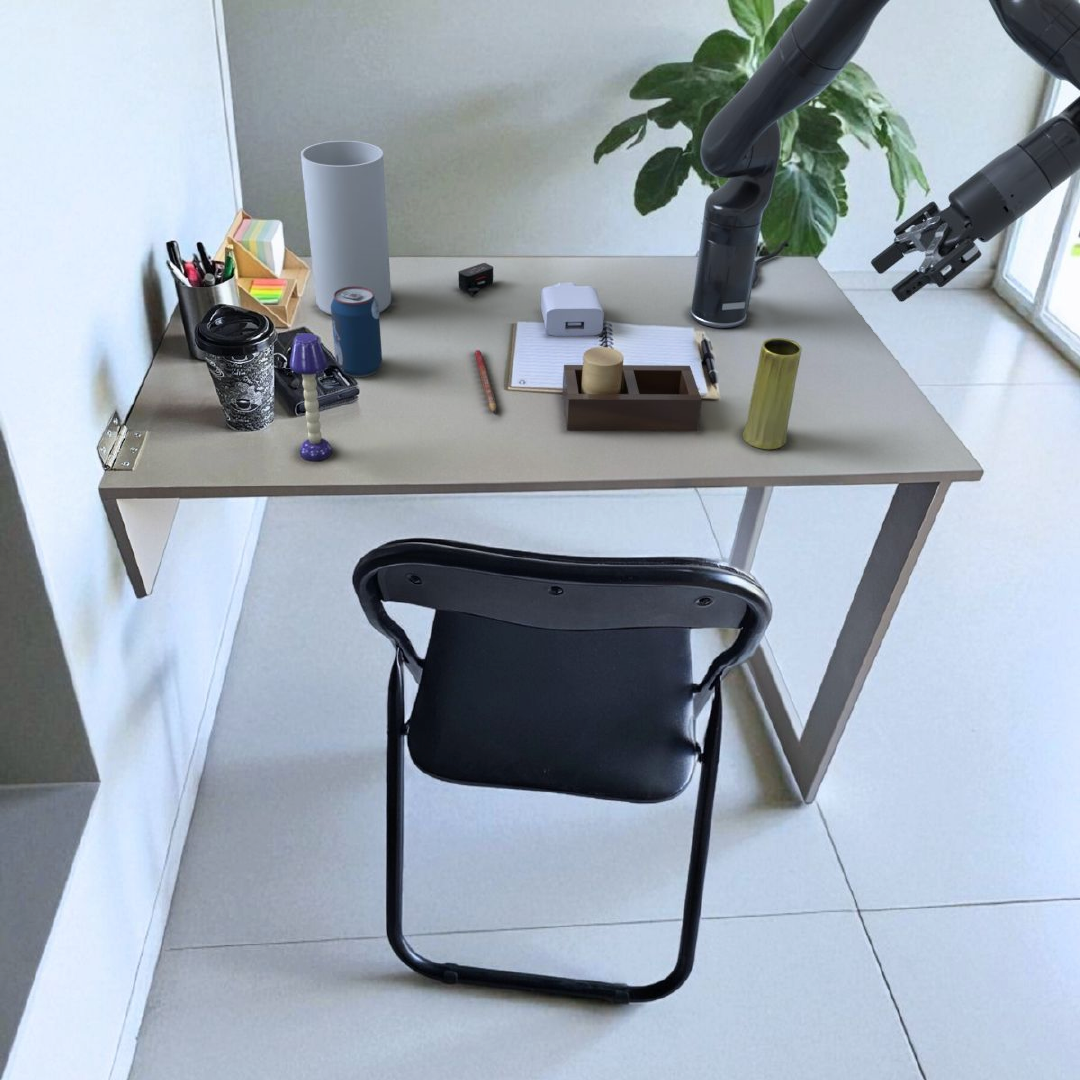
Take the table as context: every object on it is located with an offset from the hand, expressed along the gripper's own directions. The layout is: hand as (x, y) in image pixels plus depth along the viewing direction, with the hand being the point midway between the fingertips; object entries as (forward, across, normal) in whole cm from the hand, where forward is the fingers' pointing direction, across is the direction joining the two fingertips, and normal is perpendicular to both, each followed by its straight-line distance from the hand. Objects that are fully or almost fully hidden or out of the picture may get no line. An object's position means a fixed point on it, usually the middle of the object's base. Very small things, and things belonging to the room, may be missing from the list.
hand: (884, 282), depth 133 cm
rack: (+38, -7, -5) cm, 39 cm away
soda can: (+66, -20, -33) cm, 76 cm away
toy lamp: (+68, +4, -35) cm, 77 cm away
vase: (+25, 0, +8) cm, 26 cm away
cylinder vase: (+68, -42, -35) cm, 87 cm away
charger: (+42, -39, -9) cm, 58 cm away
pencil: (+52, -15, -19) cm, 58 cm away
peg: (+41, -7, -8) cm, 42 cm away
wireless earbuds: (+53, -49, -20) cm, 75 cm away
